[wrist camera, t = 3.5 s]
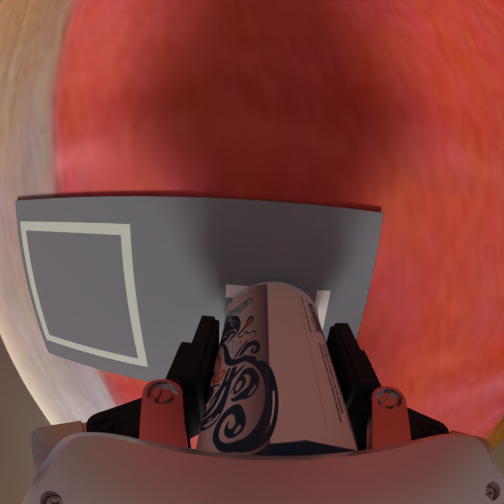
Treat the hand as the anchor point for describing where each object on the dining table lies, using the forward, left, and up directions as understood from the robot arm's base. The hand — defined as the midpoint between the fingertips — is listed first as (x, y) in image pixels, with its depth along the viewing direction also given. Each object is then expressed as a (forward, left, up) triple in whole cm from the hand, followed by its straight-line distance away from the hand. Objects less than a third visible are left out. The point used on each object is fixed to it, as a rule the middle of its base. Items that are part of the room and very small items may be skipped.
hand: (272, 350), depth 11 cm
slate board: (0, -6, -3) cm, 7 cm away
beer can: (0, 0, -3) cm, 3 cm away
